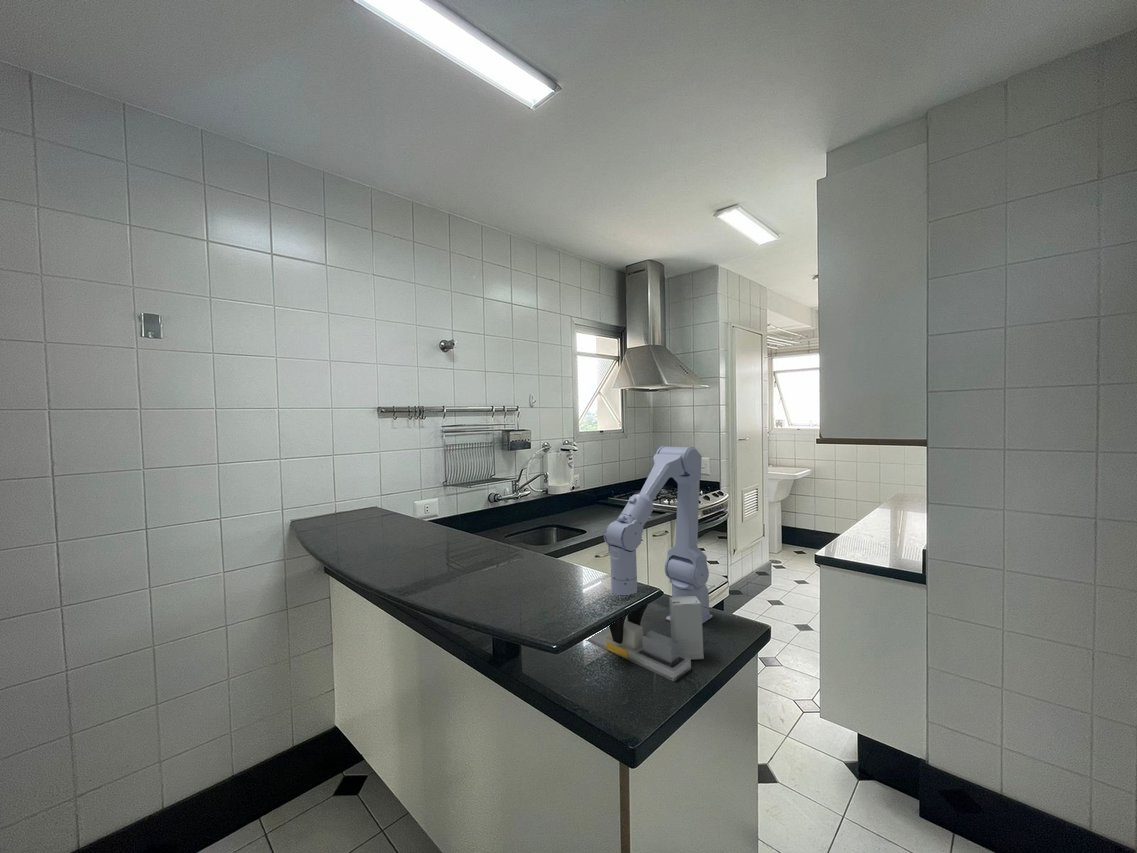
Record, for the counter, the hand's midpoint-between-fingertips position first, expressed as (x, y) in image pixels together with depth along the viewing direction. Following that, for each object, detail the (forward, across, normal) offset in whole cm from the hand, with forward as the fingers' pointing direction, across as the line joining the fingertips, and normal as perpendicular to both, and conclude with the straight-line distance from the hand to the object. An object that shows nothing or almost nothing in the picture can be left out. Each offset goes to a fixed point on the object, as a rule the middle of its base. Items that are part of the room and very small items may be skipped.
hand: (625, 637), depth 97 cm
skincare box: (+3, -7, +11) cm, 13 cm away
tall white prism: (+2, 0, 0) cm, 2 cm away
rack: (+3, 0, 0) cm, 3 cm away
